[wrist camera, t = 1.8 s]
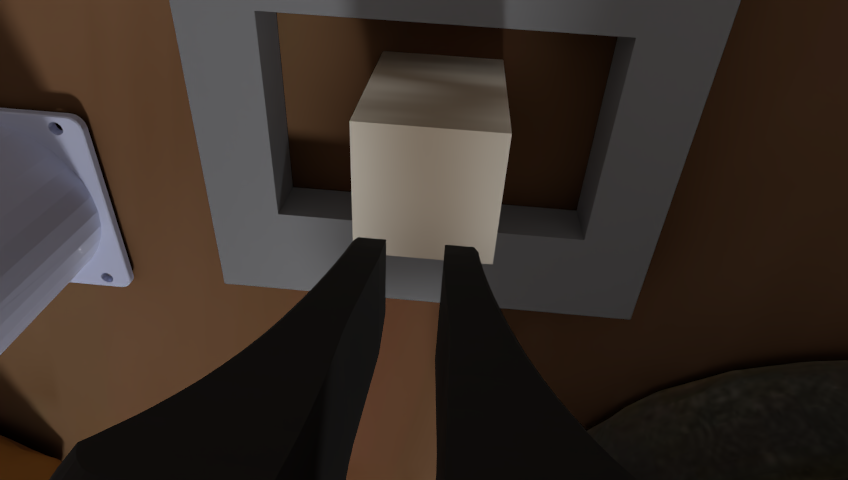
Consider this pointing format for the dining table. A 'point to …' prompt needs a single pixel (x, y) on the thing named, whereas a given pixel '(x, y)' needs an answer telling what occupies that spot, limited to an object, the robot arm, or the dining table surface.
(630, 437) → the vessel
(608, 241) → the holder plate
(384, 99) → the cream block
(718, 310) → the dining table surface
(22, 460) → the coffee package
